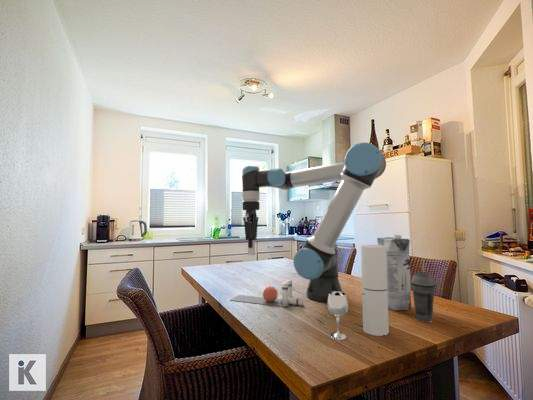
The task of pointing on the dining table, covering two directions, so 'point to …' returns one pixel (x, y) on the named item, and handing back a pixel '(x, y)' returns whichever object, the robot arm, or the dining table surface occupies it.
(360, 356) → the dining table surface
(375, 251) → the cylindrical container
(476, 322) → the dining table surface
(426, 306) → the beverage cup
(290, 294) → the pin back right
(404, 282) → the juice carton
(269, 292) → the ball
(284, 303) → the pin back left
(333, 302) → the wineglass
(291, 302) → the pin front
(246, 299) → the grey flat board
